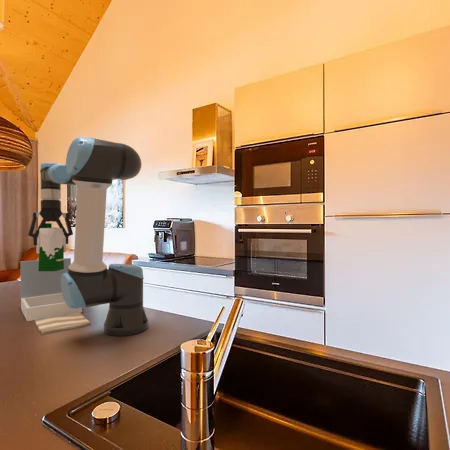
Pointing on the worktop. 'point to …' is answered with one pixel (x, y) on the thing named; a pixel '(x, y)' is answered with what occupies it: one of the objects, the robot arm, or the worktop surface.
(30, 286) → the equipment case
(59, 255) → the soya milk
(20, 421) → the worktop surface
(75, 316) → the wooden mat
